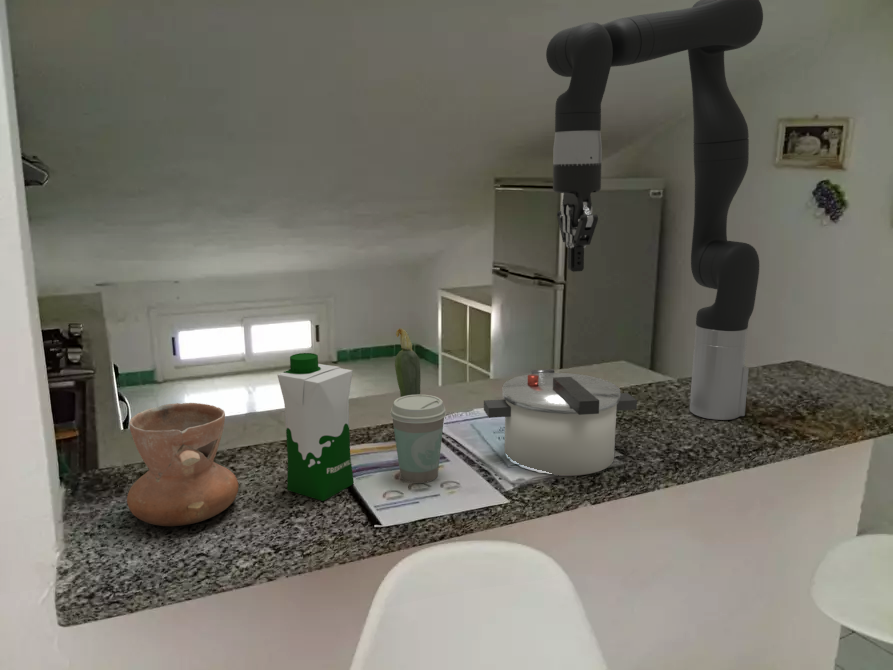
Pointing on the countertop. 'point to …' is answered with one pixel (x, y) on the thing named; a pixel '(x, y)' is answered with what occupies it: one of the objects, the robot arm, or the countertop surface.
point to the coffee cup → (418, 436)
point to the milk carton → (317, 426)
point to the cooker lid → (561, 392)
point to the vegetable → (407, 367)
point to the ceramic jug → (180, 465)
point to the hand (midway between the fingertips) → (575, 270)
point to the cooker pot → (559, 437)
